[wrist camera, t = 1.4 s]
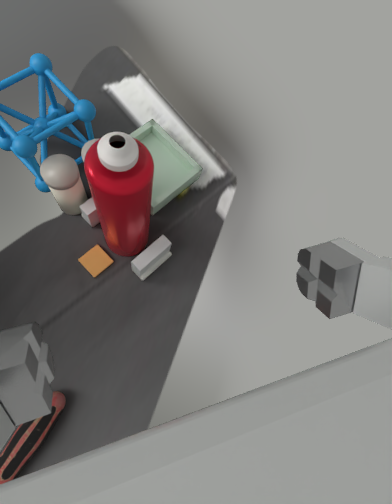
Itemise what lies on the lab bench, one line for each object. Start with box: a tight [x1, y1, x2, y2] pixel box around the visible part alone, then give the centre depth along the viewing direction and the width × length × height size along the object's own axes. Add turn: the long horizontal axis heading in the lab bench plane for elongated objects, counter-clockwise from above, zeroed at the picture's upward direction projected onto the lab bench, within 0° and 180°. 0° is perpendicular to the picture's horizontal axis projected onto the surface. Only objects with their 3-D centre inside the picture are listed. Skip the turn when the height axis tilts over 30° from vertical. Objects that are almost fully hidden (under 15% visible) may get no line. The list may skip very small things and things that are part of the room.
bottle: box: [84, 132, 154, 256], centre depth 32 cm, size 5×6×20 cm
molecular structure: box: [0, 53, 96, 192], centre depth 38 cm, size 10×10×10 cm
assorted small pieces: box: [40, 119, 203, 281], centre depth 39 cm, size 16×20×8 cm
